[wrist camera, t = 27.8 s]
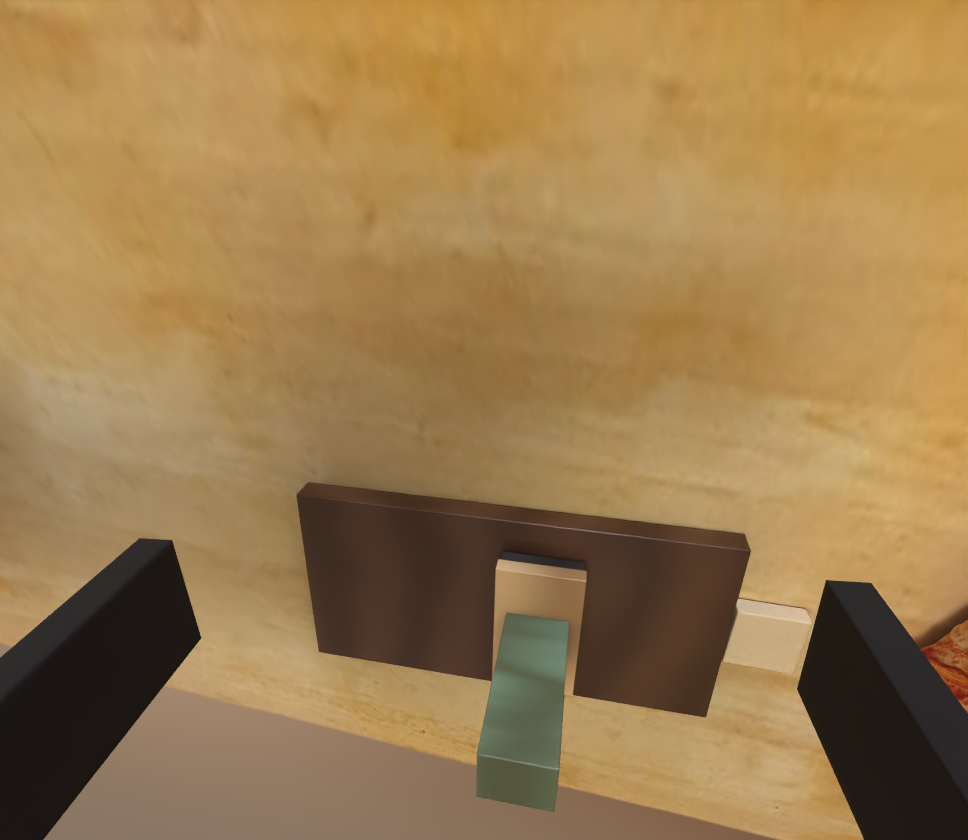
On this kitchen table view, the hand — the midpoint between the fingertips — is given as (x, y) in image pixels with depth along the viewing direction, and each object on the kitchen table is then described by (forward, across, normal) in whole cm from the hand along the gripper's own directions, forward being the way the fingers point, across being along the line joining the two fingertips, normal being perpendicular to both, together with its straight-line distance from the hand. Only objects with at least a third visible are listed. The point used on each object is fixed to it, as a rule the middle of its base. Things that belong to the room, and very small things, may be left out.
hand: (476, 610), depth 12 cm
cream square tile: (+19, +14, -17) cm, 29 cm away
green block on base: (+18, +1, -16) cm, 24 cm away
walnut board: (+20, -1, -16) cm, 26 cm away
